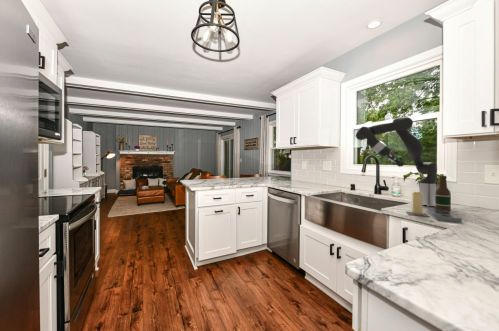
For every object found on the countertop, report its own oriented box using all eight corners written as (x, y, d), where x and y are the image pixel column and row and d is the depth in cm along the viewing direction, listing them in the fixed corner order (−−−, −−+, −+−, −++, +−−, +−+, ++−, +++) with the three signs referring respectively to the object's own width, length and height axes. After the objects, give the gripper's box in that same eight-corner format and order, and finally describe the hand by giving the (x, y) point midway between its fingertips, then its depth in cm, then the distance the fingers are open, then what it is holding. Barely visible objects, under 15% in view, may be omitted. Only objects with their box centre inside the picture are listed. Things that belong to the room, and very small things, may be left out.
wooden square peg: (411, 212, 138) (411, 191, 138) (420, 213, 136) (420, 192, 136) (413, 214, 134) (413, 192, 134) (422, 214, 132) (422, 192, 132)
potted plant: (444, 210, 147) (444, 175, 147) (453, 212, 140) (454, 176, 140) (432, 210, 148) (432, 175, 148) (441, 212, 140) (441, 176, 140)
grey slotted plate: (426, 211, 143) (426, 208, 143) (446, 213, 138) (446, 209, 138) (437, 220, 120) (437, 216, 120) (461, 223, 115) (461, 218, 115)
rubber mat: (406, 212, 141) (406, 211, 141) (425, 213, 137) (425, 213, 137) (408, 215, 133) (408, 214, 133) (429, 217, 128) (429, 216, 128)
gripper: (387, 144, 141) (408, 161, 135) (385, 145, 153) (404, 161, 147) (377, 152, 143) (398, 169, 138) (376, 153, 156) (395, 169, 150)
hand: (401, 165), depth 143 cm, fingers open, 8 cm apart
